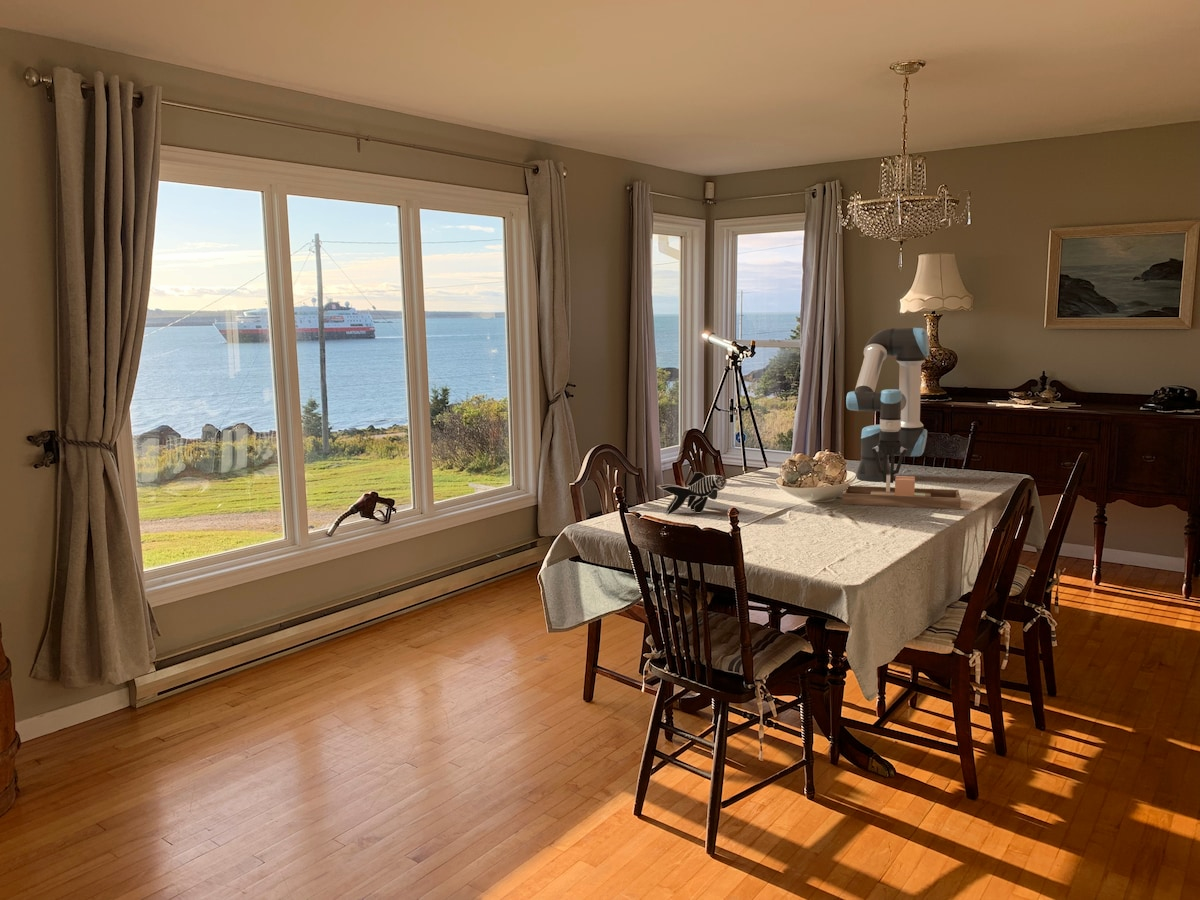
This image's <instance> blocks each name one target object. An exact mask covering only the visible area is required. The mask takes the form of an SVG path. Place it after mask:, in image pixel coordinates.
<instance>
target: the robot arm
mask: <svg viewBox="0 0 1200 900" xmlns="http://www.w3.org/2000/svg"><path fill="white" fill-rule="evenodd" d="M863 356H864V357H863V362H862V365H861V368H860V371H859V373H858V374H859V375H858V378H857V381H856V385H855V389H854V390H853V391H849V392H847V394H846V397H845V398H846V400H845V402H846V403H845V404H846V408H847V410H849V411H855V412H879V414H880V415H879V416H880V417H879V424H872V425H867V426H865V427H863V428H862V429H861V436H860V439H861V440H860V462H859V464H858V467H857V471H856V475H855V476H856V477H857V478H856V479H858V480H861V481H866V482H867V481H868V482H883V483H885V484H886V485H885V487H886V492H890V487H891V484H894V482H895V481H894V480H895V477H894V475H896V474H899V473H900V470H901V467H902V466H901V465H902V463H903V458H904V457H920V456H922V455H923V453H924V452H925V449H926V443H927V438H928V430H927V429H926V428H924V424H923V423H922V421H921V391H922V390H921V388H922V387H921V384H922V383H921V381H922V364H923V363H924V362H925V361H926V358H927V357H928V356H930V338H929V335H928V331H927V330H926V329H925V328H922V327H901V328H900V327H899V328H898V327H897V328H892V327H889V328H884V329H882V330H880V331H877V332H876V333H875V334H873V335H872V336H871V337H870V338H869V339H868V341H867V342H866V344H865V345H864V348H863ZM887 357H895V362H896V363H898V364H899V373H898V375H899V376H898V377H899V379H898V384H899V385H898V389H896V388H895V389H893V388H892V389H891V388H889V389H887V388H886V389H882V390H881V391H880V392H878V391H876V388H877V385H878V381H879V376H880V373H881V369H882V366H883V362H884V361H885V360H886V359H887ZM895 456H899V458H898V461H897V464H896V468H895Z"/></svg>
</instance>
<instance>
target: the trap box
mask: <svg viewBox="0 0 1200 900" xmlns="http://www.w3.org/2000/svg"><path fill="white" fill-rule="evenodd" d="M848 486H849V487H848V489H846V490H845V491H842V496H841V497H842V498H841V503H842V505H853V504H855V505H856V506H857V505H859V506H878V507H879V506H881V507H900V508H903V507H904V508H919V509H920V508H921V509H922V508H923V509H924V508H925V509H942V510H943V509H944V510H961V506H962V505H961V502H962V500H961V494H960V491H959V489H947V488H946V489H944V488H940V489H939V488H921V487H920V488H917V487H915V491H914V496H897V495H895V486H893V487H891V486H890V492H886V486H871V485H870V486H869V485H862V486H861V485H848Z"/></svg>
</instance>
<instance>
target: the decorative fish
mask: <svg viewBox="0 0 1200 900" xmlns="http://www.w3.org/2000/svg"><path fill="white" fill-rule="evenodd" d="M727 483H728V480H727V479H726V478H725V477H724V476H722V475H717V474H712V475H705V474H704V473H703V472H700V471H699V472H698V471H697V472H695V471H694V472H693V475H692V477H691V479H690V481H689V482H687V484H686V486H687V487H682V486H680V485H677V484H669V483H668V484H659V485H656V487H657V488H658V489H660V490H662V491H663V492H667V493H668V494H670V495H673V496H674V497H673V499H672V500H671V501H670V503H669V504H668V505H667V506H666V508H665V509H664V511H663V514H665V516H669V515H671V514H673V513H675V512H677V511H678V510H679V509H680V508H681V507H683V505H684V504H685V503H686V501H687V506H686V507H687V509H689V508H690V510H691V511H694V513H695V514H696V512H701V513H702V512H703V511H704V509H705V507H706V504H707V502H708V499H709V500H713V501H715V500H717V499H718V496H719V493H718V492H720V491H722V490H724V489H725V487H726V485H727ZM697 497H698V498H697ZM692 509H694V510H692Z"/></svg>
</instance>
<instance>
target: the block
mask: <svg viewBox="0 0 1200 900" xmlns="http://www.w3.org/2000/svg"><path fill="white" fill-rule="evenodd" d="M894 480H895V481H894V487H895V495H897V496H914V491H915V488H916V487H915V484H916V476H911V475H910V476H908V475H907V476H905V475H895V477H894Z"/></svg>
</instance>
